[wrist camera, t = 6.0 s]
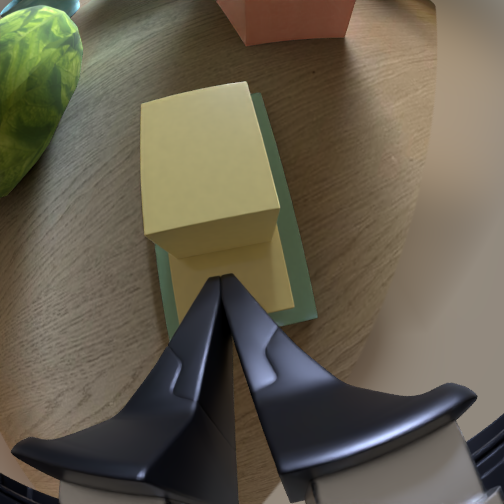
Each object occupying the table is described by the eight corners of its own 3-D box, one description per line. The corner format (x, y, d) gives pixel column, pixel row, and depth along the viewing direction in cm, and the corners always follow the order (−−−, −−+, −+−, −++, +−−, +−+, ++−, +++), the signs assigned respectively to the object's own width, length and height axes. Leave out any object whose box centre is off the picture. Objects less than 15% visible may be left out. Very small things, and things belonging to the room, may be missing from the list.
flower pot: (17, 62, 24) (-10, 25, 14) (28, 30, 27) (9, 0, 17) (98, 10, 26) (78, -36, 15) (94, -10, 29) (80, -45, 18)
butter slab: (271, 241, 13) (280, 208, 9) (177, 259, 13) (143, 235, 9) (248, 137, 15) (246, 80, 10) (166, 154, 14) (140, 103, 10)
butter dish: (314, 317, 17) (334, 319, 13) (174, 343, 17) (150, 353, 12) (260, 100, 20) (261, 60, 16) (151, 122, 20) (133, 86, 16)
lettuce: (130, 65, 25) (85, -30, 12) (60, 191, 15) (-59, 25, 2) (38, 116, 27) (-8, 44, 14) (-30, 241, 17) (-115, 153, 4)
